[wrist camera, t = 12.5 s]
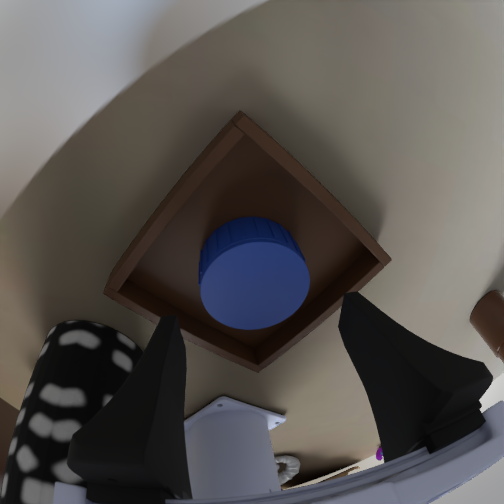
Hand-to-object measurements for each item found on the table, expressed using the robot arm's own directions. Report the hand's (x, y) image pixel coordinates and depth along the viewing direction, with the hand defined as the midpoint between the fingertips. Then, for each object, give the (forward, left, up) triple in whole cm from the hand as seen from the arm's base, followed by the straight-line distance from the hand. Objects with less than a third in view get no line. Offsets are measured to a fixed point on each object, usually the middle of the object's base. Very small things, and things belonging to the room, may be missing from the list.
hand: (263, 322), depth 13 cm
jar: (+10, -23, -5) cm, 26 cm away
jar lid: (0, 0, -2) cm, 2 cm away
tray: (0, 0, -5) cm, 5 cm away
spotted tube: (-14, +3, -5) cm, 15 cm away
